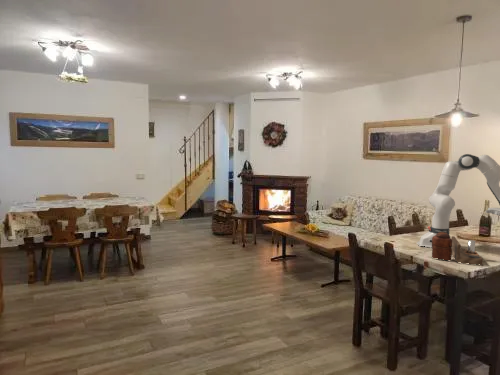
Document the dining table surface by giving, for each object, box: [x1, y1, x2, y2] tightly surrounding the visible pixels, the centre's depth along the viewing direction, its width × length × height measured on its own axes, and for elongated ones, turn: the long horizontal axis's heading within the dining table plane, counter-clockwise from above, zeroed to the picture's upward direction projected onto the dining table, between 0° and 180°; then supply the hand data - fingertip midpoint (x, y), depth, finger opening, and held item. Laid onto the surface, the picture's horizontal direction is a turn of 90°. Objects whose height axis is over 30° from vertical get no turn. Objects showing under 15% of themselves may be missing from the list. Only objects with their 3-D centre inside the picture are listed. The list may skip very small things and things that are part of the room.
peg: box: [467, 239, 476, 254], centre depth 233 cm, size 4×4×12 cm
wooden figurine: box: [431, 232, 453, 261], centre depth 232 cm, size 12×6×18 cm, turn 57°
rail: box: [451, 235, 484, 266], centre depth 233 cm, size 14×24×12 cm, turn 159°
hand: (491, 212), depth 234 cm, fingers open, 8 cm apart
